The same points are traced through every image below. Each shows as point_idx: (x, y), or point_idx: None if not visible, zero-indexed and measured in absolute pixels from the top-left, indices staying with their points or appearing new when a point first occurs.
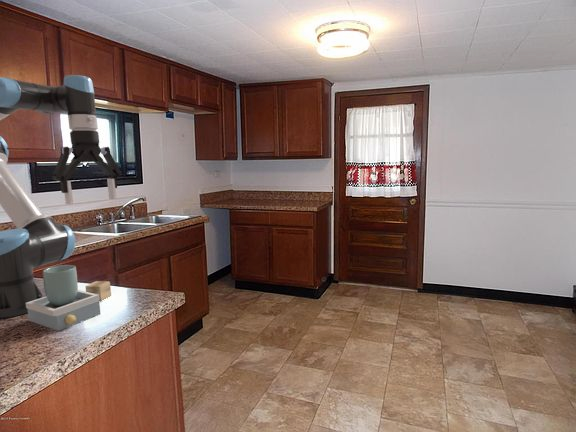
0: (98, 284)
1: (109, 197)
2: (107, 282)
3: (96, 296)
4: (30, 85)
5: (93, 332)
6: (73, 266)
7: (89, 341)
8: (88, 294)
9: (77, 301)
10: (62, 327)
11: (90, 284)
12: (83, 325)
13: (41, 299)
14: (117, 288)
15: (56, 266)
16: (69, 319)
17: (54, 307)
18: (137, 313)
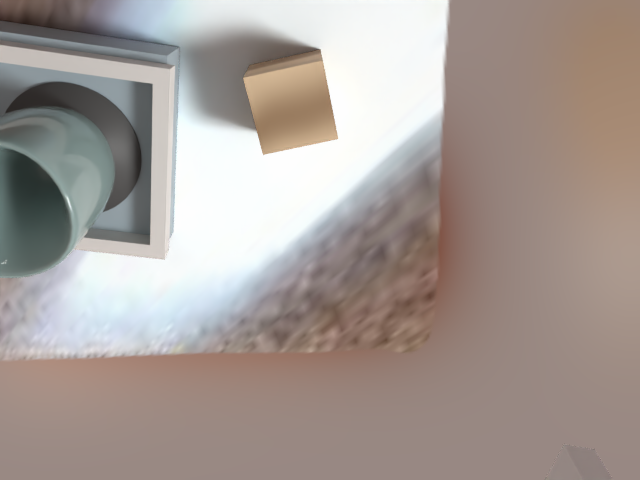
0: (284, 121)
1: (571, 470)
2: (322, 139)
3: (153, 256)
4: None
5: (68, 316)
6: (69, 235)
7: (28, 348)
8: (151, 212)
9: None
10: None
11: (272, 79)
12: (84, 252)
13: (9, 62)
14: (428, 64)
15: (14, 149)
16: None
17: None
18: (229, 334)
